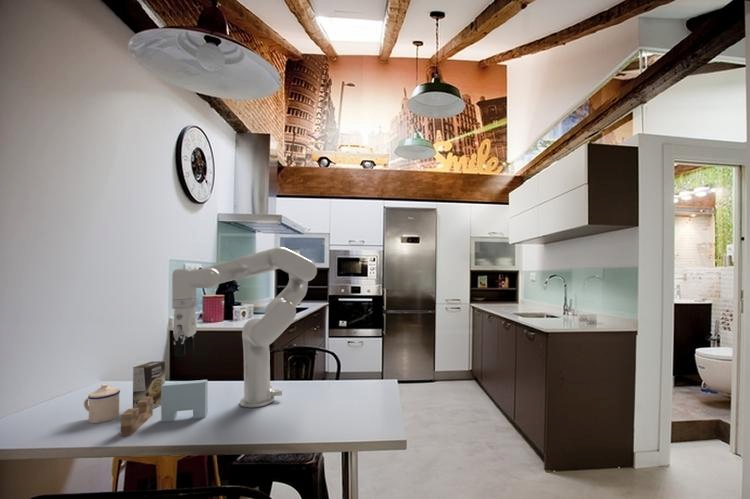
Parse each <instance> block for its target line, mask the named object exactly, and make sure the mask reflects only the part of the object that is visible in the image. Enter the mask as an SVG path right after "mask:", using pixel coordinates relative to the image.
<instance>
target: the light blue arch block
mask: <svg viewBox="0 0 750 499" xmlns="http://www.w3.org/2000/svg"><path fill="white" fill-rule="evenodd" d="M208 388H209V387H208V379H200V380H198V379H197V380H189V381H187V380H186V381H178V382H165V383H164V384H163V385H162V386H161V405H160V406H161V408H160V413H161V414H160V415H161V416H160V419H161V421H160V422H161V423H163V422H164V423H165V422H172V421H173V422H174V421H176V420H177V418H178V412H183V411H192V419H194V420H195V419H202V418H203V419H204V418H206V417H207V416H208V414H209V412H208V409H209V407H208V406H209V401H208Z"/></svg>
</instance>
